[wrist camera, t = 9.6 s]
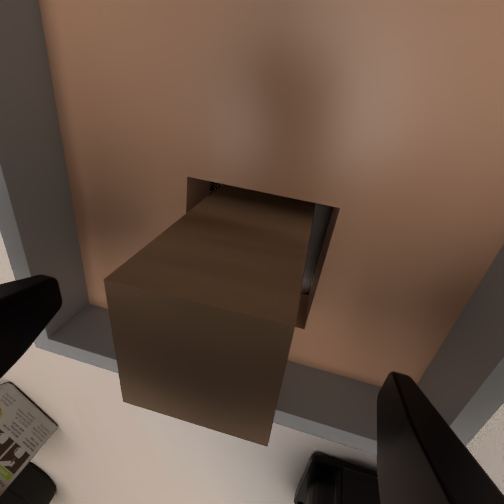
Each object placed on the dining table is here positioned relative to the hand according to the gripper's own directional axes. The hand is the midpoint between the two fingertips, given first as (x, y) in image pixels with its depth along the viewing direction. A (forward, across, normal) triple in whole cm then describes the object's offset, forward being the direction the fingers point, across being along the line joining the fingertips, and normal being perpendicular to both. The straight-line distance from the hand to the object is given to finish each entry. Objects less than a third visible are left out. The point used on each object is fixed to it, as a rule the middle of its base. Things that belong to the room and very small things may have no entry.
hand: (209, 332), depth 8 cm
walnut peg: (+7, 0, 0) cm, 7 cm away
